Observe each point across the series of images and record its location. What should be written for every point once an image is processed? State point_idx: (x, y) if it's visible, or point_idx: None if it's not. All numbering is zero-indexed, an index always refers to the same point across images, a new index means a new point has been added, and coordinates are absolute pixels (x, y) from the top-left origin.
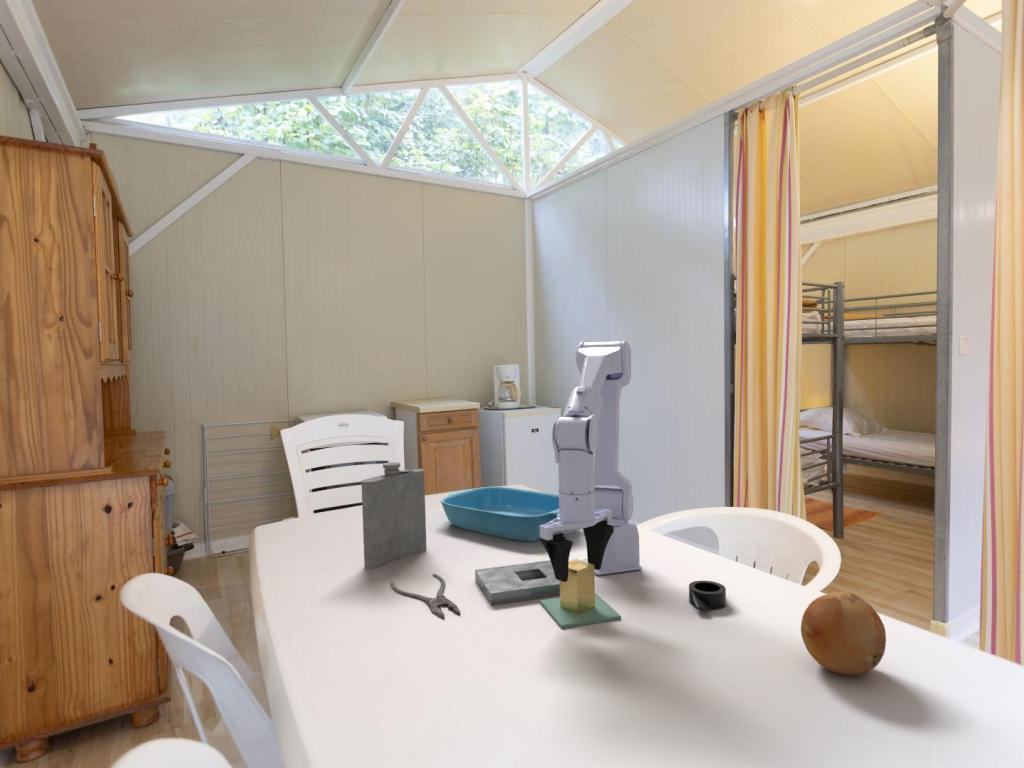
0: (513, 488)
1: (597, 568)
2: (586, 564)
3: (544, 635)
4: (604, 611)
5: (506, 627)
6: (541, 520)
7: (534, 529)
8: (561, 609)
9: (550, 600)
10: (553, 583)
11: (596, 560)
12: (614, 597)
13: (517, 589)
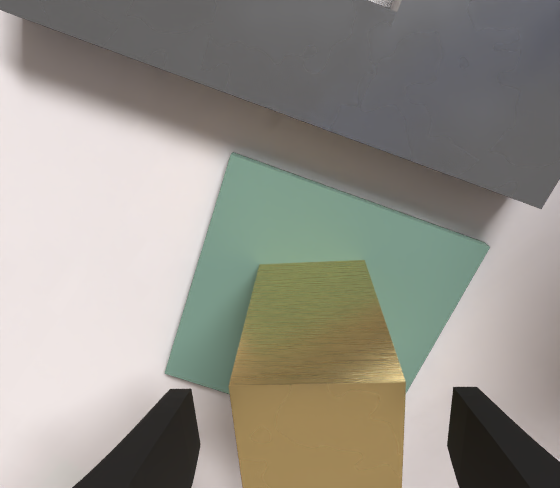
0: None
1: (449, 451)
2: (369, 482)
3: (95, 365)
4: None
5: (3, 246)
6: None
7: None
8: (246, 286)
9: (267, 189)
10: (354, 119)
11: (469, 485)
12: (523, 307)
13: (137, 56)
